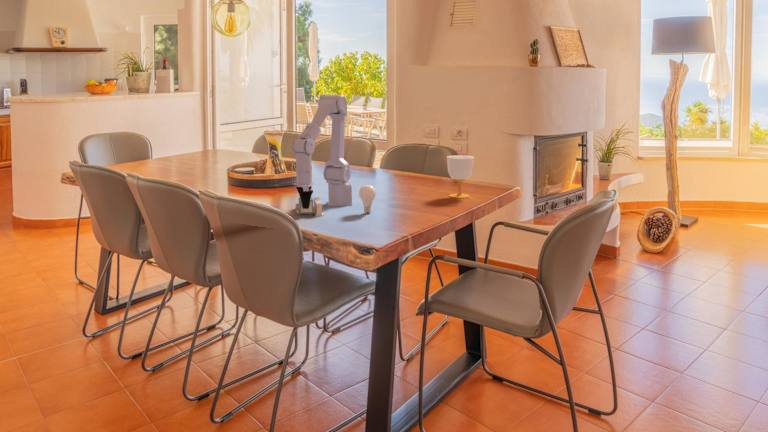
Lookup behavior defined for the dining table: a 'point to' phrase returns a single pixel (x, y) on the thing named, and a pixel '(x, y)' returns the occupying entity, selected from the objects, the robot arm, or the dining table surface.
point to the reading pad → (304, 214)
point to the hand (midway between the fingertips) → (305, 206)
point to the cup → (460, 170)
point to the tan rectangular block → (317, 207)
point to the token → (297, 206)
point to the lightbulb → (367, 197)
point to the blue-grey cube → (309, 210)
